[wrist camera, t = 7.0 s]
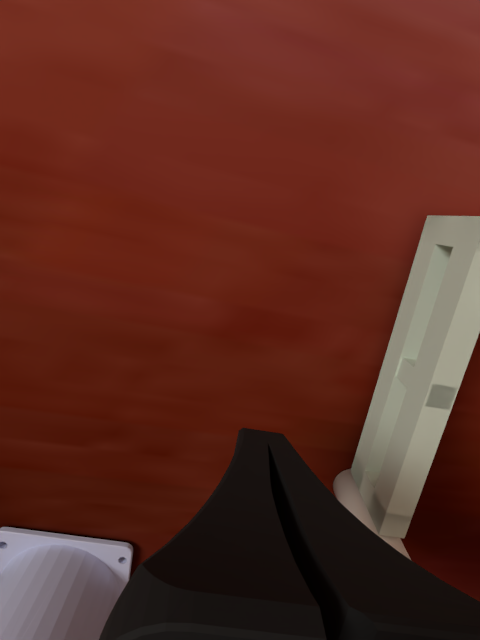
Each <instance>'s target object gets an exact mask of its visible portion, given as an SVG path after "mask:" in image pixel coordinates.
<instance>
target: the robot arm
mask: <svg viewBox="0 0 480 640" xmlns="http://www.w3.org/2000/svg"><path fill="white" fill-rule="evenodd" d="M4 542H5V543H4ZM122 557H124V558H122ZM132 557H133V547H132V545H131V544H129V543H126V542H119V541H112V540H104V539H96V538H89V537H81V536H73V535H66V534H58V533H51V532H43V531H35V530H28V529H20V528H12V527H2V528H0V640H480V602H479V601H477V600H475V599H474V598H472V597H470V596H468V595H466V594H465V593H463V592H461V591H459V590H458V589H456V588H454V587H452V586H451V585H449V584H447V583H445V582H444V581H442V580H440V579H439V578H437V577H436V576H434V575H433V574H431V573H430V572H428V571H426V570H425V569H423V568H422V567H420V566H419V565H417V564H416V563H414V562H413V561H411V560H410V559H409V558H407V557H406V556H404V555H403V554H401V553H400V552H399V551H397V550H396V549H395V548H393V547H392V546H391V545H389V544H388V543H387V542H385V541H384V540H383V539H382V538H380V537H379V536H378V535H376V534H375V533H374V532H373V531H371V530H370V529H369V528H368V527H367V526H365V525H364V524H363V523H362V522H361V521H360V520H359V519H358V518H357V517H355V516H354V515H353V514H352V513H351V512H350V511H349V510H348V509H347V508H346V507H345V506H344V505H342V504H341V503H340V502H339V501H338V500H337V499H336V497H335V496H334V495H333V494H332V493H331V492H330V491H329V490H328V489H327V488H326V487H325V486H324V485H323V483H322V482H321V481H320V480H319V479H318V478H317V477H316V475H315V474H314V473H313V472H312V471H311V469H310V468H309V467H308V466H307V465H306V463H305V462H304V461H303V460H302V458H301V457H300V456H299V454H298V453H297V452H296V450H295V449H294V448H293V447H292V445H291V444H290V443H289V441H288V440H287V439H286V437H285V436H284V435H283V434H280V433H273V432H267V431H260V430H254V429H247V428H242V429H241V430H239V433H238V438H237V443H236V448H235V453H234V456H233V458H232V461H231V463H230V465H229V467H228V469H227V471H226V473H225V474H224V476H223V478H222V480H221V481H220V483H219V485H218V486H217V488H216V489H215V491H214V492H213V494H212V495H211V496H210V498H209V499H208V500H207V502H206V503H205V504H204V506H203V507H202V508H201V509H200V510H199V512H198V513H197V514H196V515H195V516H194V517H193V519H192V520H191V521H190V522H189V523H188V524H187V525H186V526H185V527H184V528H183V529H182V530H181V531H180V532H179V533H178V534H176V535H175V536H174V537H173V538H172V539H171V540H170V541H169V542H168V543H167V544H166V545H164V546H163V547H162V548H161V549H159V550H158V551H157V552H156V553H154V554H153V555H152V556H150V557H149V558H148V559H146V560H145V561H144V562H143V563H141V564H140V565H139V566H138V567H137V569H136V570H135V572H134V573H133V575H132V576H131V578H130V572H131V564H132Z"/></svg>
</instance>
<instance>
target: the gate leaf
mask: <svg viewBox="0 0 480 640" xmlns="http://www.w3.org/2000/svg"><path fill="white" fill-rule="evenodd" d="M479 332H480V216H427V219H426V222H425V225H424V228H423V232H422V235H421V238H420V242H419V245H418V248H417V252H416V255H415V258H414V262H413V265H412V268H411V272H410V275H409V278H408V282H407V285H406V288H405V292H404V295H403V298H402V302H401V305H400V308H399V312H398V315H397V318H396V321H395V325H394V328H393V331H392V335H391V338H390V341H389V345H388V348H387V351H386V355H385V358H384V361H383V365H382V368H381V371H380V375H379V378H378V381H377V385H376V388H375V391H374V395H373V398H372V401H371V405H370V408H369V411H368V414H367V418H366V421H365V424H364V428H363V431H362V434H361V438H360V441H359V444H358V448H357V451H356V454H355V458H354V461H353V464H352V468H351V474H352V476H353V478H354V480H355V483H356V485H357V487H358V489H359V492H360V494H361V496H362V498H363V500H364V503H365V505H366V507H367V509H368V512H369V514H370V516H371V518H372V521H373V523H374V525H375V527H376V530H377V532H378V534H379V535H384V536H391V537H398V538H405V535H406V533H407V530H408V527H409V524H410V522H411V519H412V516H413V514H414V511H415V508H416V505H417V503H418V500H419V497H420V494H421V492H422V489H423V486H424V483H425V481H426V478H427V475H428V472H429V470H430V467H431V464H432V461H433V459H434V456H435V453H436V450H437V448H438V445H439V442H440V439H441V437H442V434H443V431H444V428H445V426H446V423H447V420H448V417H449V415H450V412H451V409H452V406H453V404H454V401H455V398H456V396H457V393H458V390H459V387H460V385H461V382H462V379H463V376H464V374H465V371H466V368H467V365H468V363H469V360H470V357H471V354H472V352H473V349H474V346H475V343H476V341H477V338H478V335H479Z"/></svg>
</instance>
